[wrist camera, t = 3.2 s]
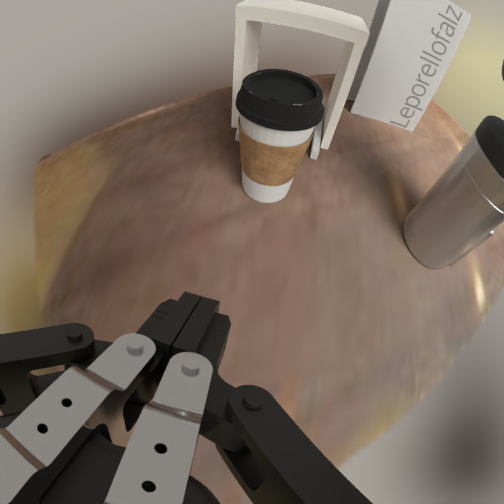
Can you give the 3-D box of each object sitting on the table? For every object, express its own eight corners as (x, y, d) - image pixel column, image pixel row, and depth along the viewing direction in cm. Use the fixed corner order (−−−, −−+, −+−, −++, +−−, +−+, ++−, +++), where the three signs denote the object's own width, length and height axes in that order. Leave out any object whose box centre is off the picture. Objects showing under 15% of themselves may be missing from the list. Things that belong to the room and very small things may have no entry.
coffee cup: (222, 199, 33) (220, 92, 19) (245, 154, 36) (253, 57, 23) (289, 221, 32) (323, 118, 19) (304, 172, 36) (333, 78, 22)
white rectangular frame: (330, 115, 43) (361, 17, 25) (327, 163, 37) (373, 39, 19) (247, 96, 43) (256, -5, 25) (224, 138, 38) (227, 9, 20)
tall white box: (350, 112, 44) (398, -26, 17) (345, 98, 46) (386, -29, 20) (412, 131, 44) (471, 15, 17) (405, 116, 47) (456, 7, 20)
